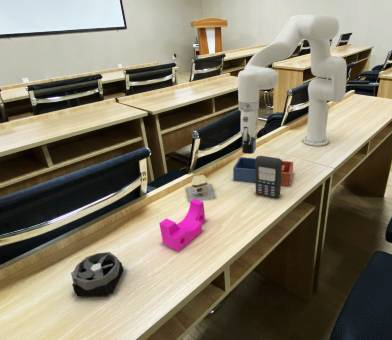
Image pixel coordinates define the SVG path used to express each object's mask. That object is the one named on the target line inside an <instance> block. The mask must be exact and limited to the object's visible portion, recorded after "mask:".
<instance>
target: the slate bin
mask: <svg viewBox="0 0 392 340" xmlns="http://www.w3.org/2000/svg"><path fill="white" fill-rule="evenodd" d="M255 159H256V157H242V156H239V158H238V160H237V161H236V162H235V164H234V166H233V168H232V173H233V174H232V175H233V176H232V177H233V178H232V179H233V181H235V182H242V183H243V182H244V183H254V184H255Z"/></svg>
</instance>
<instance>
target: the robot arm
mask: <svg viewBox="0 0 392 340" xmlns="http://www.w3.org/2000/svg"><path fill="white" fill-rule="evenodd" d="M339 30H340V23H339V20H338V19H337V17H335V16H332V15H321V14H320V15H319V14H295V15H292V16H291V17H290V18H289V19H288V20H287V21H286V23H285V25H284V26H283V27H282V28H281V30H280V32H279V33H278V35H277V36H276V38H275V39H274V41H272V42H271V43H269V44H268V45H266V46H264V47H263V48H262V49H259V51H256V53H255V54H254V55H252V56H251V58H250V59H249V60H248V62H247V63H246V65H245V66H244V69H243V70H240V71H239V72H238V74H237V93H238V95H237V96H238V98H237V99H238V111H240V136H241V137H242V141H243V154H249V155H251V154H253V153H252V144H251V138H252V139H255V137H256V135H257V133H258V131H259V113H258V111H259V110H260V91H262V90H272V89H274V88H275V87H276V86H277V85H278V83H279V79H280V77H279V73H278V72H277V71H276V70H275V69H274V68H271V67H267V66H269V65H271V64H273V63H278V62H281V61H284V60H287V59H289V58H290V57H292V55H293V54H294V52H295V51H296V49H297V48H298V46H299V45H300V43H301V42H302V41H303V40H306V41H307V42H308V44H309V49H310V72H311V75H313V76H314V77H317V78H313V79H312V80H310V82H309V84H308V87H307V92H308V93H307V94H308V112H307V124H306V136H303V138H302V141H303V143H304V144H306V145H309V146H315V147H321V146H322V147H323V146H326V145H327V144H328V143H329V138H327V137H326V135H327V127H328V118H329V109H330V108H329V103H328V102H331V103H340V102H342V101H343V100H344V98H345V97H346V96H345V95H346V90H347V73H348V72H347V71H348V67H347V66H348V65H347V61H346V59H345V58H344V57H342V56H337V55H332V54H331V42H330V41H331V40H333V39H334V38H335V37H336V36H337V35H338V33H339ZM247 138H249V140H248V139H247Z"/></svg>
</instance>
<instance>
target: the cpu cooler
mask: <svg viewBox="0 0 392 340" xmlns="http://www.w3.org/2000/svg"><path fill="white" fill-rule="evenodd" d="M73 269H74V270H73V271H72V272H70V275H71V279H72V288H73V291H74V294H75V295H76V297H78V298H93V297H94V298H96V297H100V298H101V297H108V296H109V295H110V294H114V292H115V290H116V288H117V285H118V283H119V281H120V279H121V277H122V275H123V272H124V267H123V263H122V261H120V259H118V257H117V256H116V255H115V254H113V253H112V252H110V251H106V252H97V253H95V254H91V255H88V256H86V257H85V258H84V259H81V261H80V262H79V263H78V264H76V266H75V268H73Z"/></svg>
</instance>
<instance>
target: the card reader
mask: <svg viewBox="0 0 392 340" xmlns="http://www.w3.org/2000/svg"><path fill="white" fill-rule="evenodd" d="M255 158H256V159H255V183H254V185H255V194H257V195H258V196H263V197H269V198H273V199H279V198H280V196H281V192H282V191H281V189H282V186H281V174H282V161H283V159H281V158H280V157H272V156H267V155H257V156H256V157H255Z"/></svg>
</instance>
